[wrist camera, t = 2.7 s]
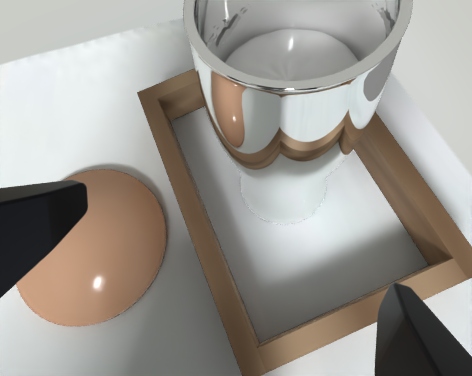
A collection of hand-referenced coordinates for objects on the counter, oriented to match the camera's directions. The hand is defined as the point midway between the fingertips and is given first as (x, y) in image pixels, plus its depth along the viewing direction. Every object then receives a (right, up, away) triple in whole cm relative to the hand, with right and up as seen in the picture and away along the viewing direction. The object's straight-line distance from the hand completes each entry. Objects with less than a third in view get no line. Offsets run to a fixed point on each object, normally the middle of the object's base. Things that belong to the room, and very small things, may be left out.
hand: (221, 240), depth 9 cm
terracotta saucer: (-10, -2, +14) cm, 18 cm away
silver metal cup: (+4, +2, +14) cm, 15 cm away
